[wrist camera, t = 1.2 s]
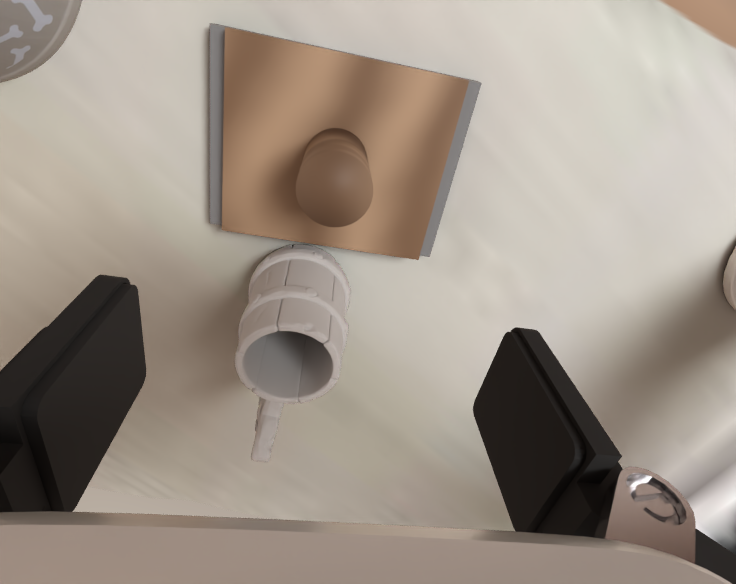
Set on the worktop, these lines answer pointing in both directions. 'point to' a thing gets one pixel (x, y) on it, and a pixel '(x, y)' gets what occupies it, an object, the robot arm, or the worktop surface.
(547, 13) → the worktop surface
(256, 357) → the mug
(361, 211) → the walnut lid
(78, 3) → the dog bowl
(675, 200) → the worktop surface
